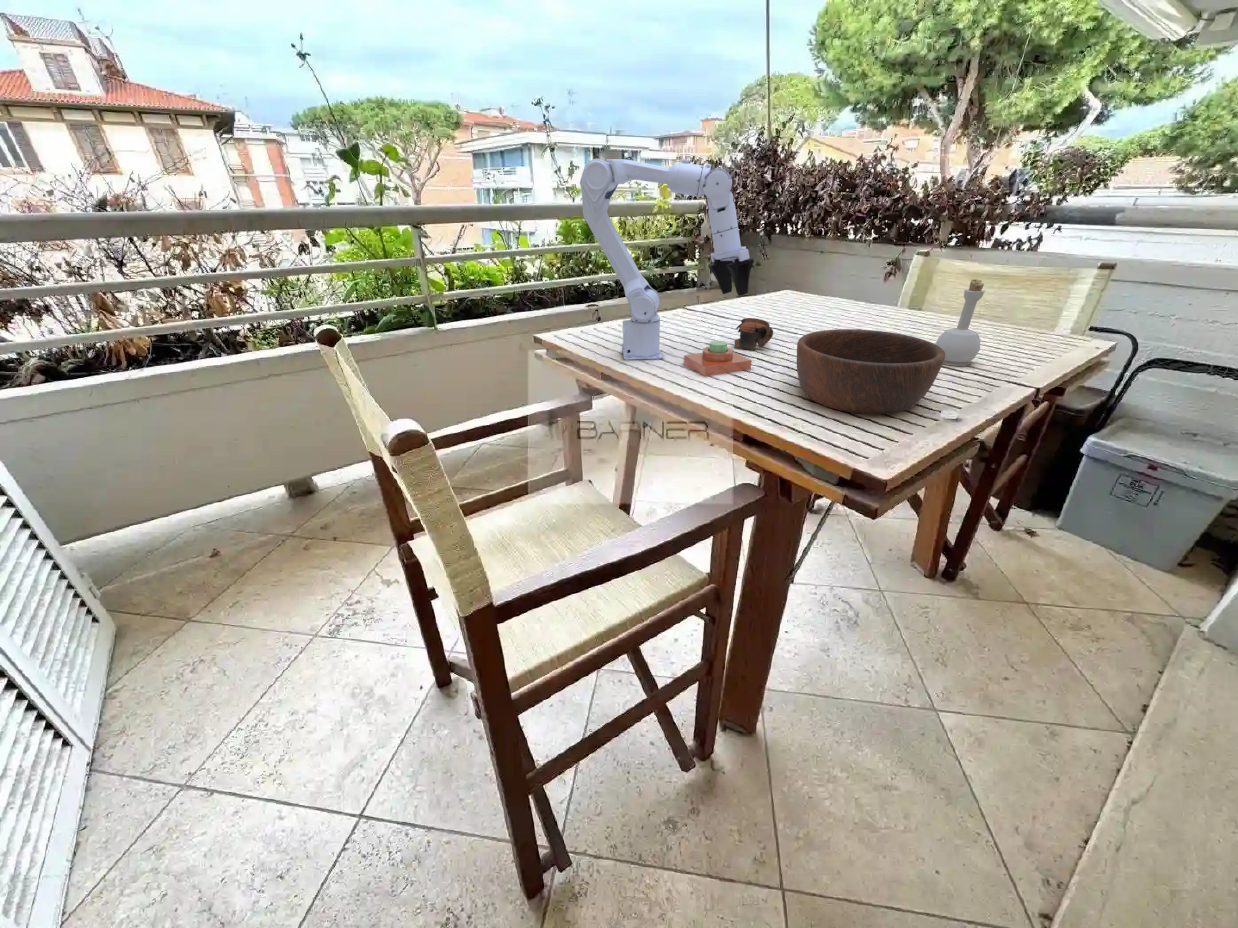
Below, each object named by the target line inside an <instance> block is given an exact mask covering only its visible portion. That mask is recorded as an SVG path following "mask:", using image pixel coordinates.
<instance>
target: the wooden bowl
mask: <svg viewBox="0 0 1238 928" xmlns="http://www.w3.org/2000/svg"><path fill="white" fill-rule="evenodd" d="M944 360H945V352H944V350H943V349H942V348H940V347H939V346H937V345H936V344H935V343H934V342H931V341H928V340H927V339H922V338H920V337H916V336H911V335H907V334H902V333H896V332H891V331H882V330H873V329H860V328H859V329H856V328H855V329H853V328H845V329H844V328H842V329H841V328H839V329H837V328H835V329H824V330H818V331H813V332H809V333H807V334H804V335H802V336H801V337H800V338H799V339H798V341H797V345H796V373H797V378H798V382H799V385H800V388H801V390H802V391H803V393H804V394H805V396H806V397H808V398H809V399H810V400H812V401H813V402H816V404H819V405H821V406H824V407H826V408H830V409H833V410H837V411H840V412H841V411H842V412H845V413H851V414H852V413H853V414H860V415H891V414H897V413H898V414H899V413H902V412H905V411H907V410H909V409H912V408H913V407H915V405H917V404H918V403H920V401H921V400H922V399H923V398H924V397H925V396H926V395H927V394H928V392H929V391H930V389H931V388H932V386H933V384H934V382H935V381H936V379H937V377H938V375H939V373H940V371H941V368H942V367H943V365H944V364H943V362H944Z"/></svg>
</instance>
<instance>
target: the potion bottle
mask: <svg viewBox="0 0 1238 928" xmlns="http://www.w3.org/2000/svg"><path fill="white" fill-rule="evenodd" d="M984 286H985V283H983V282H982V280H981V279H977V278H976V279H975V278H973V279H971V280H970V283H969V287H968V288H967V289H964V291H963V299H964V304H963V307H962V311H961V313H960V317H959V320H958V323H957V326H956V327H953V328H948V329H945V330H944V331H943V332H942V333H941V334H940V335H939V337H938V338H937V340H936V341H935V343H934V344H936V345H937V346H939V347H940V348H942V349H943V350H944V352H945V360H944V362H943V365H946V366H952V367H953V366H954V367H967V366H969V365H970V364H971V361H973V360H974V359H975V358H976V357H977V355H978V353H979V352H980V351H981V338H980V335H979V333H978V332H977V331H975V330H971V329H970V328H969V327H970V324H971V321H972V318H973V315H974V312H975V309H976V306H977V303H978V302H979V301H980V300H981V299H982V298H983V297H984V294H985V292H986V290H983V288H984Z"/></svg>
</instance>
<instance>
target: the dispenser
mask: <svg viewBox="0 0 1238 928" xmlns="http://www.w3.org/2000/svg"><path fill="white" fill-rule="evenodd" d="M683 365H684V366H686V367H687V368H689V369H691V370H693V371H694V372H697V373H698V374H700V375H702V376H703V377H710V376H711V377H712V376H716V375H724V374H729V373H737V372H742V371H748V370H749V371H750V370H751V369H752V359H750V358H747V357H745V356H743V355H741V354H739V353H737V352H734V349H733V348H730V347H729V346H727V352H724V353H714V352H710V351H709V346H705V347H703V348H702V352H699V353H691V354H684V355H683Z"/></svg>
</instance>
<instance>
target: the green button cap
mask: <svg viewBox="0 0 1238 928" xmlns="http://www.w3.org/2000/svg"><path fill="white" fill-rule="evenodd" d="M708 344H709V345H708V347H709V351H710V352H714V353H724V352H727V347H728V342H727V341H725V340H711V341H709V343H708Z"/></svg>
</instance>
